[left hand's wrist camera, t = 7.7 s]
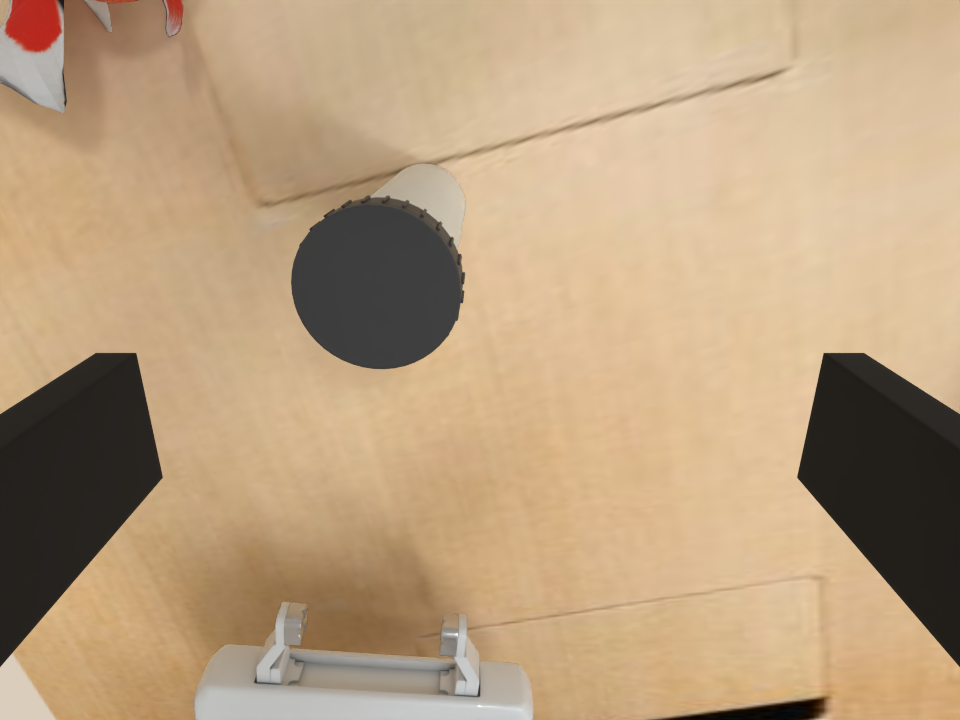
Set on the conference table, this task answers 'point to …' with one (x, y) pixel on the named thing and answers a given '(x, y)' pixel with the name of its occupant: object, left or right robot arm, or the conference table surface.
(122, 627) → the conference table surface
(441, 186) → the jar
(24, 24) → the fish
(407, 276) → the lid
